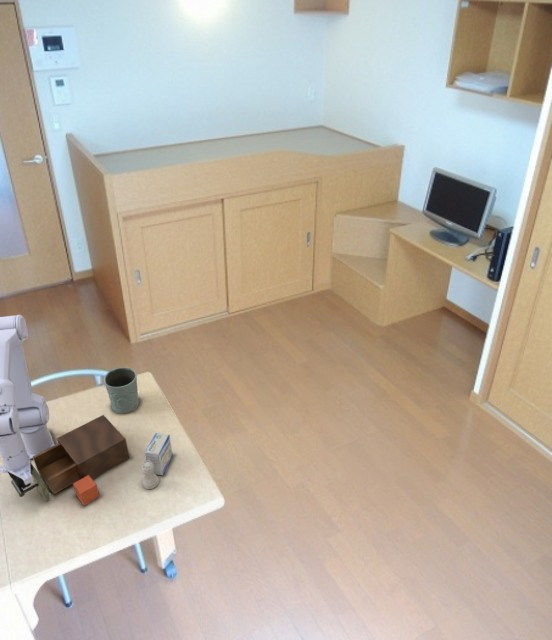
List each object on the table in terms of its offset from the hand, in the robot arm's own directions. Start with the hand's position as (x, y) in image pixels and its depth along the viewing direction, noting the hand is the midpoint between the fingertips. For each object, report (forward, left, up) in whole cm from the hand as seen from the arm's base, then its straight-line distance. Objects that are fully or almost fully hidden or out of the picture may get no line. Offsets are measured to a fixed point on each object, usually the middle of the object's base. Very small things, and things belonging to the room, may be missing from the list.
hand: (26, 485), depth 141 cm
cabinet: (-3, +19, -4) cm, 20 cm away
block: (+9, +13, -4) cm, 16 cm away
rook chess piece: (+14, +29, -4) cm, 33 cm away
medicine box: (+9, +34, -4) cm, 36 cm away
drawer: (-1, +6, -3) cm, 7 cm away
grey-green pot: (-21, +34, -4) cm, 40 cm away
